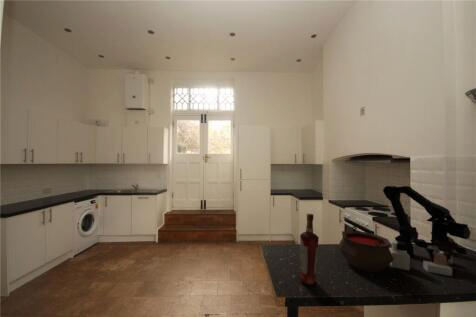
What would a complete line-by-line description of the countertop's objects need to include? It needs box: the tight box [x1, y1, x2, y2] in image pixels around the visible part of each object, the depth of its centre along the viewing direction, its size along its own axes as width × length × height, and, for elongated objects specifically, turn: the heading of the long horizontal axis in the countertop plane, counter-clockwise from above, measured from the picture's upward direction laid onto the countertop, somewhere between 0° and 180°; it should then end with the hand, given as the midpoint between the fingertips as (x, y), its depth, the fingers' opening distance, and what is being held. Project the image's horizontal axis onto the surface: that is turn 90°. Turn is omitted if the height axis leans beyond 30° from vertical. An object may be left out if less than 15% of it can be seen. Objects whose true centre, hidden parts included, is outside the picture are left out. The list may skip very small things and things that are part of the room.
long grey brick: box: [422, 260, 453, 277], centre depth 100 cm, size 9×4×4 cm, turn 68°
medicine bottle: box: [389, 239, 411, 271], centre depth 104 cm, size 7×7×12 cm
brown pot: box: [339, 225, 394, 273], centre depth 103 cm, size 24×24×16 cm
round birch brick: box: [439, 250, 454, 266], centre depth 110 cm, size 5×5×5 cm
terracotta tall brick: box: [430, 251, 448, 265], centre depth 106 cm, size 4×4×6 cm
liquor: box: [298, 213, 320, 286], centre depth 87 cm, size 7×7×28 cm
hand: (438, 262), depth 106 cm, fingers closed on terracotta tall brick, 4 cm apart
